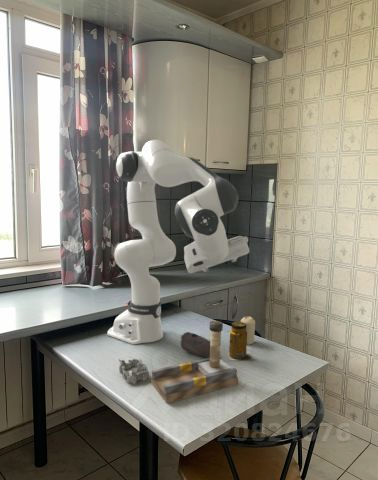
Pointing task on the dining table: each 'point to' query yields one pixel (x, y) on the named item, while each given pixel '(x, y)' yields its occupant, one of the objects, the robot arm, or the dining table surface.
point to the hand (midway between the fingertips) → (219, 264)
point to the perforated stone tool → (195, 344)
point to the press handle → (214, 351)
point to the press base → (189, 380)
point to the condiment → (238, 343)
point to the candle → (249, 329)
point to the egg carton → (134, 370)
